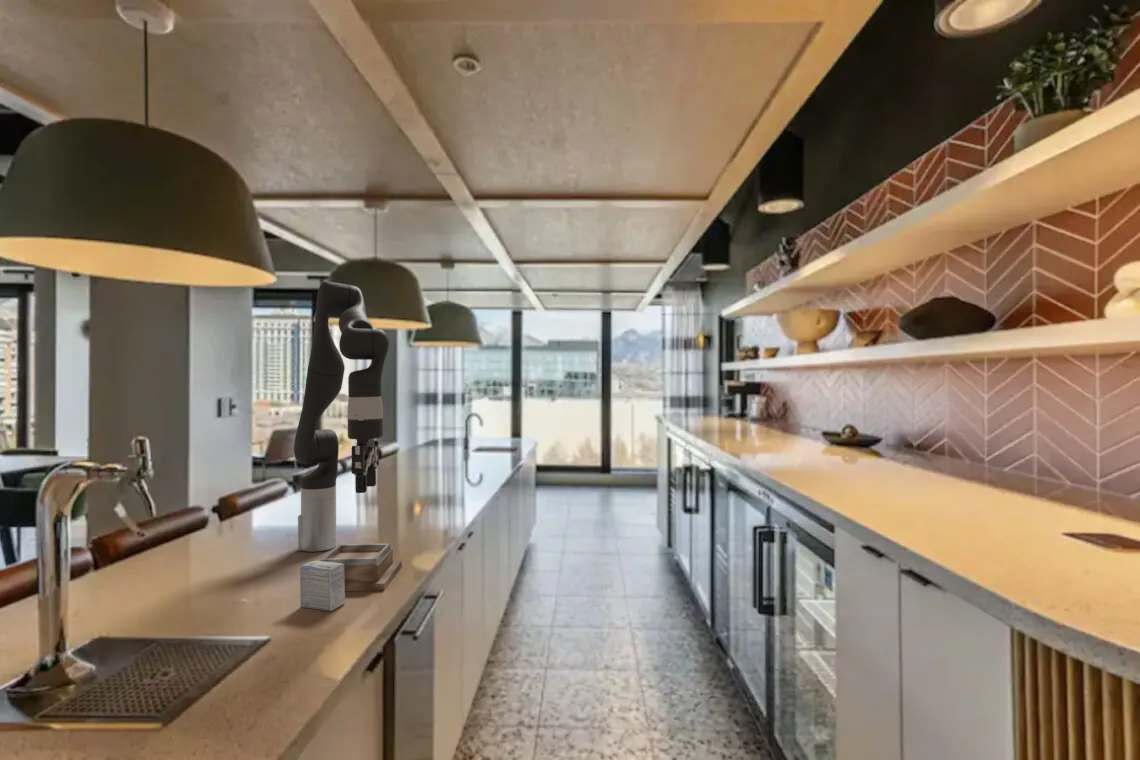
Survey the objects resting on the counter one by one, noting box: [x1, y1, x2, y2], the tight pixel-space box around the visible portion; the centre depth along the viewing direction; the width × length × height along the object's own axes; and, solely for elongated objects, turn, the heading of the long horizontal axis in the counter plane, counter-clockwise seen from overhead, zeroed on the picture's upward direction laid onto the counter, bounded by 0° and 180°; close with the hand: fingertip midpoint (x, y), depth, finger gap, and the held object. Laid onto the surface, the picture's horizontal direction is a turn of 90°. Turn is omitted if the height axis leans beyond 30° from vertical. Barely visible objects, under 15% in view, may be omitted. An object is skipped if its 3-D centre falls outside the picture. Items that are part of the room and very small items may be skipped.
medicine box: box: [299, 560, 346, 612], centre depth 124 cm, size 8×4×9 cm, turn 71°
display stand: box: [319, 543, 403, 592], centre depth 142 cm, size 17×17×6 cm
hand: (366, 489), depth 134 cm, fingers open, 8 cm apart
